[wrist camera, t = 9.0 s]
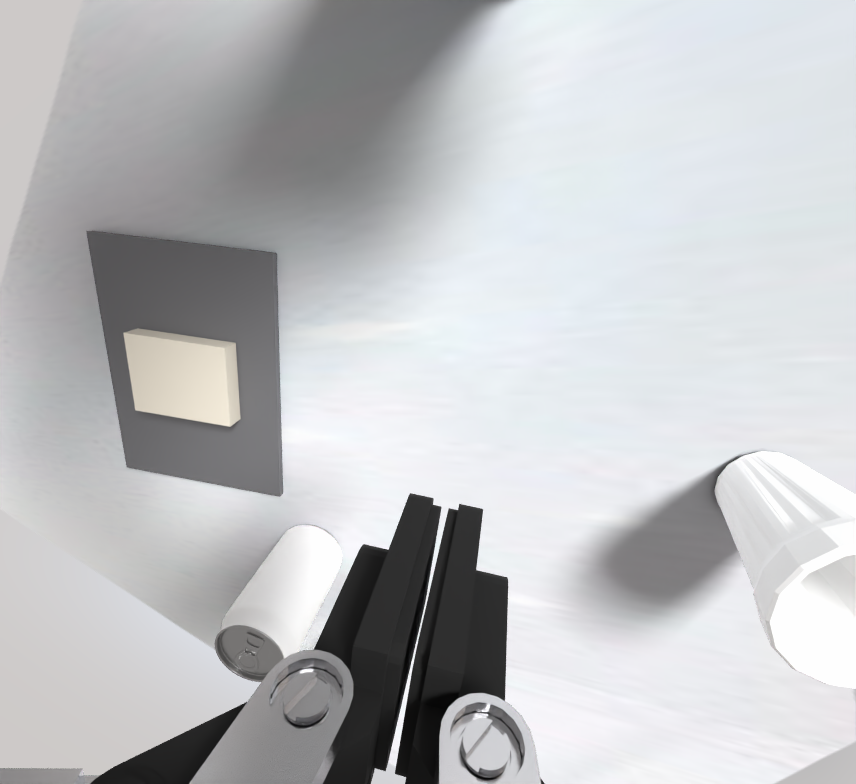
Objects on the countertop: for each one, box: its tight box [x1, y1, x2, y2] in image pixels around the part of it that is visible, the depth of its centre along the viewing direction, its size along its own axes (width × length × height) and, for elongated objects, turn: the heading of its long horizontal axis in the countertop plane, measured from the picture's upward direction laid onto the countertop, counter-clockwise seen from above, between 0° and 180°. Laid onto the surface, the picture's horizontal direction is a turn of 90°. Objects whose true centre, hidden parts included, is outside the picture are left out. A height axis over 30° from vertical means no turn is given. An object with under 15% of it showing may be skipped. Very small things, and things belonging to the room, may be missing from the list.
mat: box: [87, 231, 283, 496], centre depth 41 cm, size 22×16×1 cm
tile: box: [123, 328, 241, 427], centre depth 40 cm, size 7×2×9 cm
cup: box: [714, 451, 856, 689], centre depth 30 cm, size 10×10×13 cm
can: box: [215, 525, 342, 682], centre depth 41 cm, size 6×6×12 cm
